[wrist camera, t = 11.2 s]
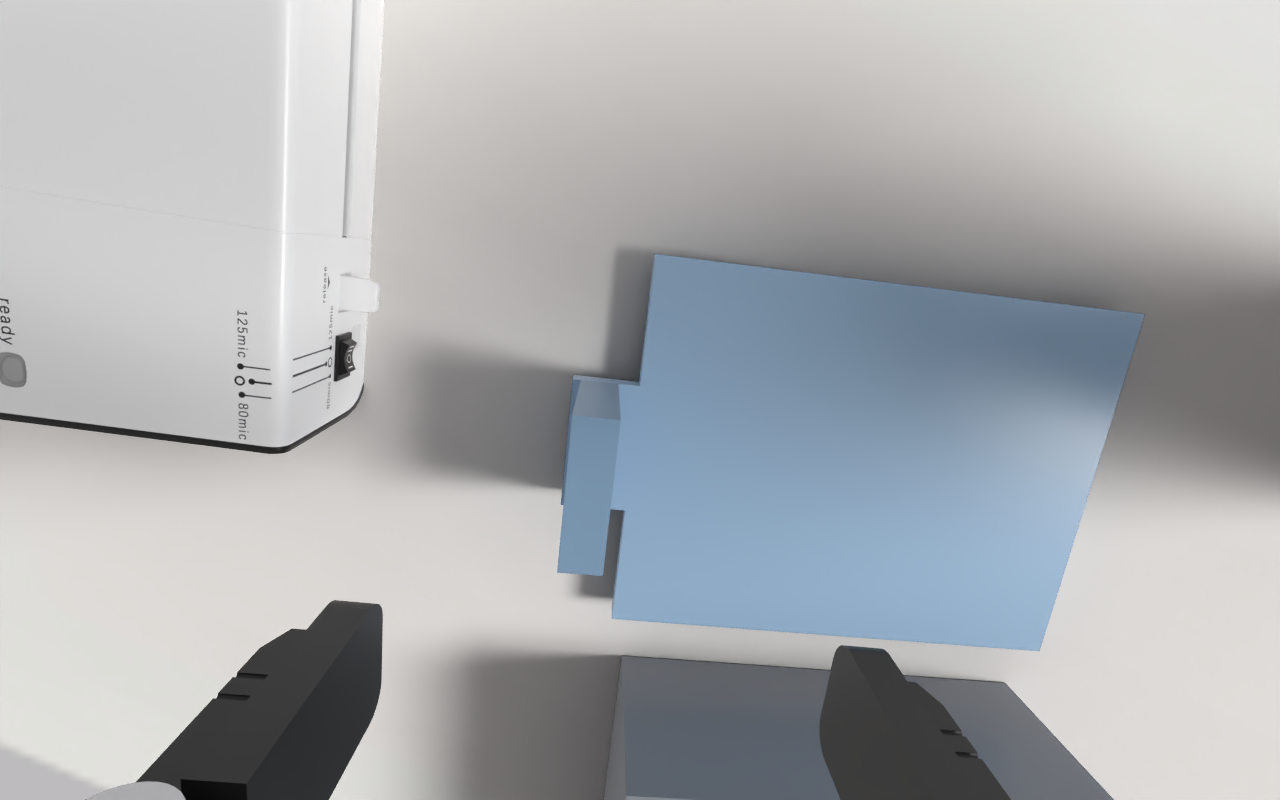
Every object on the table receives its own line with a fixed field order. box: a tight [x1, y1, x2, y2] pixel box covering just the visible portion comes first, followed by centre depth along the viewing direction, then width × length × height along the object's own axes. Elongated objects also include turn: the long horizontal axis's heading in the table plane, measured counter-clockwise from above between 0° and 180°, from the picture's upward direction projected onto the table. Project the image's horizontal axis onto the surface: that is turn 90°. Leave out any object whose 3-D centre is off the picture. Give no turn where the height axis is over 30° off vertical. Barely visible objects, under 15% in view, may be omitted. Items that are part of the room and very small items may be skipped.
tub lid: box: [557, 254, 1145, 651], centre depth 21 cm, size 15×21×7 cm
